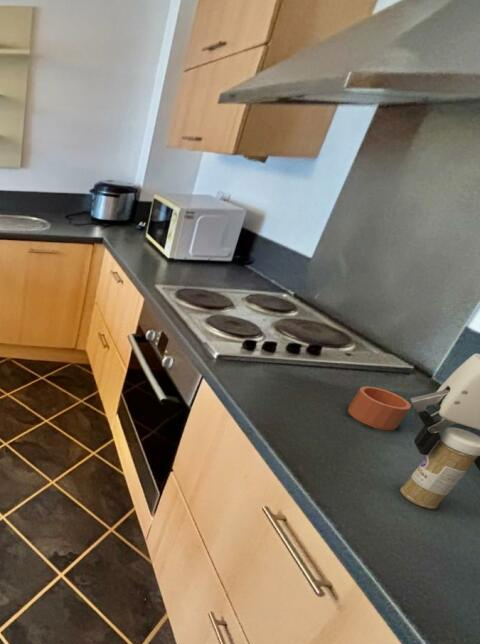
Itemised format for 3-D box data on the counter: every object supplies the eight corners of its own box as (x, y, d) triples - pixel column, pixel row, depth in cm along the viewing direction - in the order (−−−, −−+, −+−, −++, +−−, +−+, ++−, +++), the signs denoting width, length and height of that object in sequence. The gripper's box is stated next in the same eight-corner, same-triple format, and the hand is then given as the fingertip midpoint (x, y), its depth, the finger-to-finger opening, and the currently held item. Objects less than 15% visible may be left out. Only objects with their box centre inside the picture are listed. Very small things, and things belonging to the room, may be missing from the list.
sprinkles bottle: (394, 484, 71) (440, 422, 65) (428, 494, 69) (478, 431, 63) (407, 504, 67) (456, 440, 61) (443, 514, 66) (498, 450, 60)
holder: (391, 416, 90) (405, 395, 87) (400, 435, 83) (416, 414, 81) (345, 402, 93) (357, 382, 91) (350, 420, 87) (364, 399, 85)
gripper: (609, 369, 55) (518, 469, 63) (433, 331, 63) (373, 424, 71) (649, 395, 49) (544, 501, 58) (451, 350, 57) (383, 449, 65)
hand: (450, 458), depth 64 cm, fingers open, 6 cm apart
